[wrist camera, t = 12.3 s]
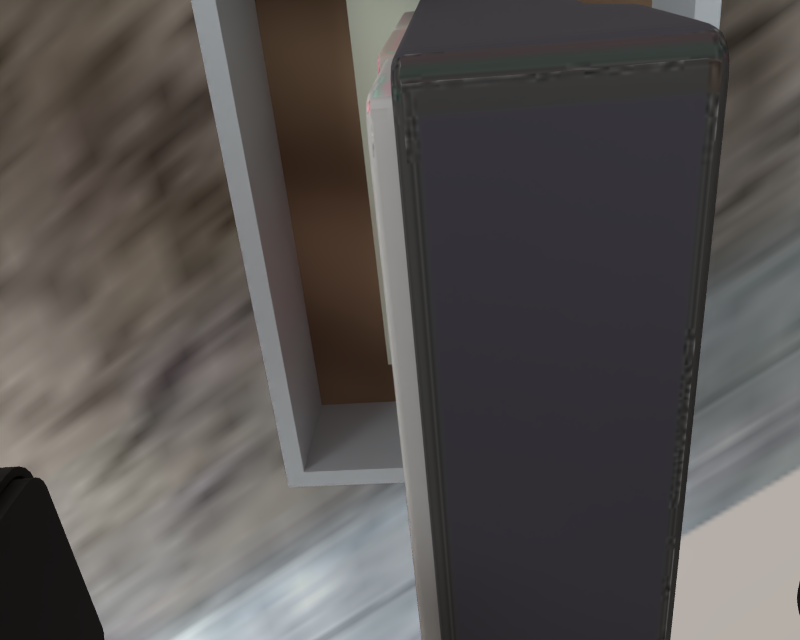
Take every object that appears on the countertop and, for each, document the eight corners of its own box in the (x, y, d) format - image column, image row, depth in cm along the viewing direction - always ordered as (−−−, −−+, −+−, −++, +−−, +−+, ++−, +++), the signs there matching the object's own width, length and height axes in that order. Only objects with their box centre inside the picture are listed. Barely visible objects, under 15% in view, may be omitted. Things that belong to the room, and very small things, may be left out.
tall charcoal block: (395, -9, 21) (313, 62, 8) (548, -24, 21) (740, 24, 7) (424, 331, 26) (403, 739, 13) (548, 325, 26) (663, 737, 12)
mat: (342, -34, 21) (341, -34, 21) (556, -56, 21) (557, -56, 20) (388, 361, 27) (388, 364, 27) (556, 352, 26) (556, 355, 26)
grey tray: (214, -114, 20) (165, -128, 17) (684, -168, 19) (739, -196, 16) (308, 419, 28) (288, 487, 25) (647, 402, 27) (679, 471, 23)
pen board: (221, -112, 21) (214, -114, 20) (676, -164, 20) (684, -168, 19) (311, 407, 29) (308, 419, 28) (642, 390, 28) (647, 402, 27)
